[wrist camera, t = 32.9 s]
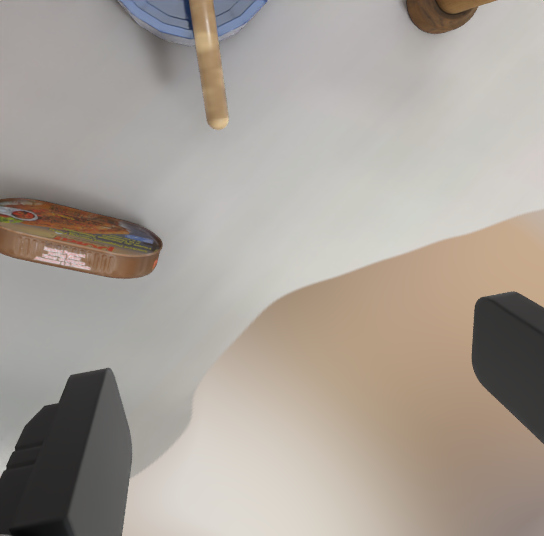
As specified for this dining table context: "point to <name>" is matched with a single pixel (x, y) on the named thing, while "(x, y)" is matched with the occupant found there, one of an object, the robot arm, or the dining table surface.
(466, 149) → the dining table surface
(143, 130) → the dining table surface
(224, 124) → the wooden spoon
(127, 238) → the tin
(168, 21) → the bowl
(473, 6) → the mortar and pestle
